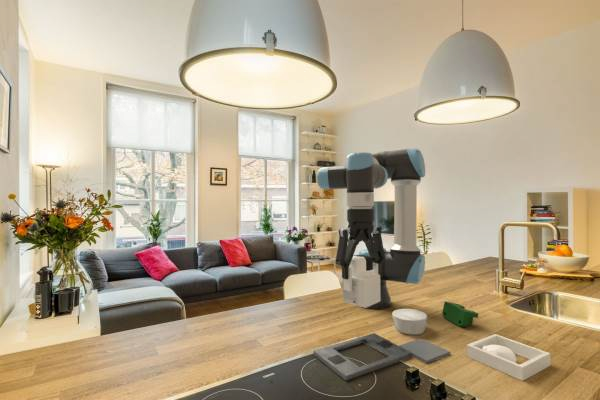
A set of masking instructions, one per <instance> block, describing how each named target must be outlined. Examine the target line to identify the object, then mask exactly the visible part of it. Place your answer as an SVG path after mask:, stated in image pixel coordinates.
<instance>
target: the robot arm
mask: <svg viewBox="0 0 600 400" xmlns="http://www.w3.org/2000/svg"><path fill="white" fill-rule="evenodd" d="M425 176H426V164H425V160H424V156H423V153H422V151H421V150H420V149H418V148H405V149H398V150H397V149H396V150H387V151H386V150H385V151H379V152H376V153H373V154H372V152H352V153H350V154H348V155H347V156H346V163H343V164H340V165H339V164H338V165H335V166H334V165H333V166H325V167H321V168H319V169H318V170H317V174H316V183H317V185H318V188H320V189H321V190H329V191H330V190H341V189H342V190H343V189H346V207H347V208H348V209H347V210H346V220H347V222H348V224H347V225H348V226H347V228H339V229H338V236H339V237H338V244H337V251H336V256H335V262H334V263H335V265H337V266H339V267H340V266H341V278H342V280H343V279H344V290H347V291H349V292H352V267H350V263H351V260H352V258H353V256H354V255H355V252H356V249H357V246H358V245H359V243H360V242H363V243H364V244H365V247H366V248H364V249H361V250H360V251H359V252H358V254H357V255H367V256H370V257H372V258H373V272H372V273H374V274H379V275H380V302H378V303H376V304H373V305H371V306H369V307H367V309H374V310H375V309H386V308H388V307H390V306H391V304H392V299H391V296H390V293H389V290H388V286H387V281H388V282H397V283H403V284H407V285H409V284H413V285H414V284H415V285H417V284H419V283H420V282H421V281H422V280H423V279H422V278H423V276H424V273H425V268H426V266H425V265H426V256H425V255H424V254H422V253H421V249H420V248H419V246H418V245H417V215H418V213H417V209H418V208H417V202H418V201H417V200H418V199H417V197H418V195H417V192H418V191H417V189H418V188H417V187H418V185H419V184H420V183H421V181H422V180H421V179H422V178H424V177H425ZM388 179H389V180H390V183H391V184H392V186H394V203H393V204H394V205H393V206H394V207H393V208H394V210H393V211H394V213H393V216H394V222H393V227H394V228H393V230H394V231H393V235H394V236H393V245H391V247H390V249H389V250H390V251H387V248H385V247H384V244H383V238H382V227H381V226H374V225H373V222H374V221H375V209H374V208H373V207H374V206H375V193H374V192H375V191H374V190H375V189H379V188H382V187H384V186H385V185H386V184H387V182H388Z"/></svg>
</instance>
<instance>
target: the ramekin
mask: <svg viewBox="0 0 600 400" xmlns="http://www.w3.org/2000/svg"><path fill="white" fill-rule="evenodd" d="M391 316H392V320H393V323H394V328H395V329H396V330H397V331H398V332H399V333H401V334H406V335H409V336H410V335H412V336H414V335H415V336H416V335H417V336H418V335H421V334H423V333H424V332H425V331H426V325H427V320H428V315H427V313H426V312H424V311H420V310H417V309H414V308H398V309H395V310H393V311H392V315H391Z"/></svg>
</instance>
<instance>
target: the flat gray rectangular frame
mask: <svg viewBox="0 0 600 400" xmlns="http://www.w3.org/2000/svg"><path fill="white" fill-rule="evenodd" d="M361 343H362V344H366V345H367V346H369V347H371V348H373V349H374V350H376V351H378V352H380V353H381V354H384V355H385V356H386V357H385V358H382V359H378V360H376V361H373V362H371V363H368V364H364V365H361V366H359V365H357V364H356V363H354V362H353V361H351V360H350V359H349V358H347V357H346V356H344V355H343V354H341V353H340V352H339V351H341V350H344V349H348V348H351V347H354V346H358V345H361ZM312 352H313V353H312V354H313V356H314V357H315V358H317V359H318V360H319V361H320V362H321V363H323V364H324V365H326V367H328V368H329V369H330V370H332V371H333V372H334V373H336V374H337V375H338V376H339V377H340V378H342V379H343V380H345V382H346V381H350V380H352V379H355V378H358V377H360V376H364V375H365V374H369V373H371V372H374V371H377V370H379V369H383V368H385V367H388V366H391V365H393V364H397V363H399V362H402V361H404V360H407V359H410V358H412V357H413V356H412V353H411V352H410V351H408V350H406V349H404V348H402V347H400V346H399V344H396V343H394V342H392V341H390V340H388V339H386V338H384V337H382V336H380V335H379V334H377V333H375V332H373V333H370V334H366V335H364V336H360V337H356V338H353V339H349V340H345V341H343V342H339V343H335V344H332V345H327V346H325V347H320V348H318V349H314V350H313V351H312Z"/></svg>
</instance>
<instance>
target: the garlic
mask: <svg viewBox="0 0 600 400" xmlns="http://www.w3.org/2000/svg"><path fill="white" fill-rule="evenodd" d="M482 349H483V350H485V351H488V352H490V353H492V354H495V355H497V356H500V357H502V358H505V359H507V360H510V361H512V362H514V363H517V357H516V354H515V353H514V352H513V351H512V350H511V349H509V348H507V347H504V346H501V345H488V346H484V347H483V348H482Z"/></svg>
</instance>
